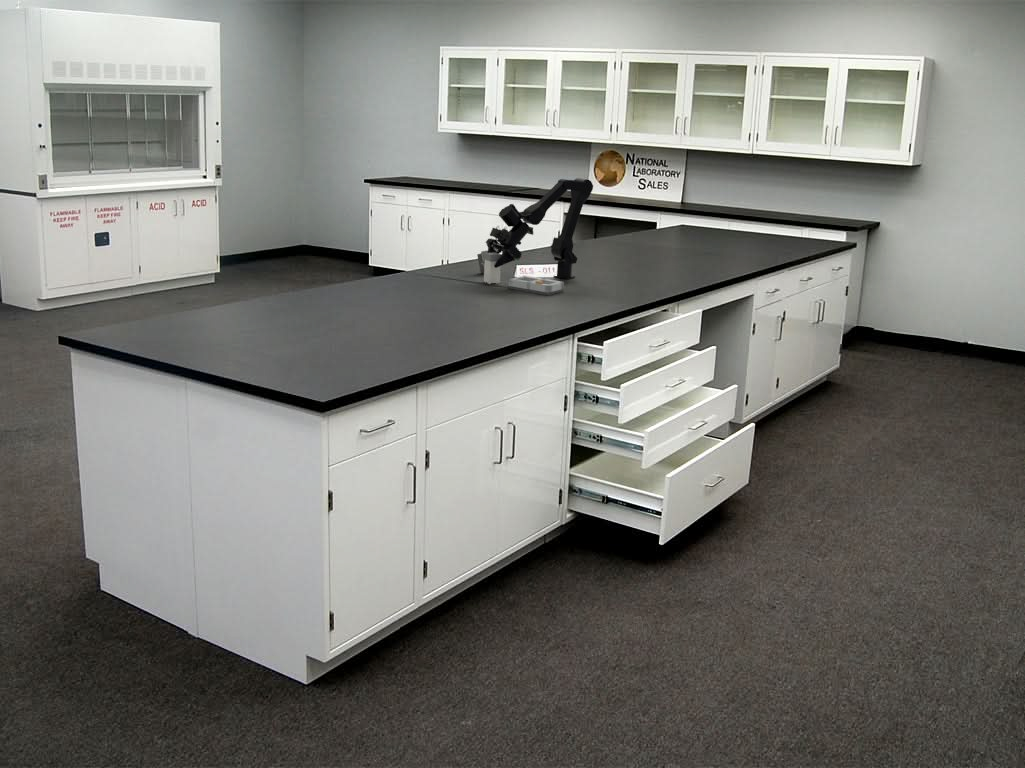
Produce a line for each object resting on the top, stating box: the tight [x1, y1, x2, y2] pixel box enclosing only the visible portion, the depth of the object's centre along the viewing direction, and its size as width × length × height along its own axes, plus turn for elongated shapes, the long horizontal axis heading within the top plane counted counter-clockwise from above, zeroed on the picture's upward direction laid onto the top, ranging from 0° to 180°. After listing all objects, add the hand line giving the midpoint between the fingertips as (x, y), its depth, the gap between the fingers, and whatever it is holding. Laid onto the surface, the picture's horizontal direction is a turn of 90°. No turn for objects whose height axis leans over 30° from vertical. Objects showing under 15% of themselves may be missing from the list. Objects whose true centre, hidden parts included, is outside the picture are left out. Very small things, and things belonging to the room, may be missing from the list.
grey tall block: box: [483, 253, 502, 285], centre depth 383 cm, size 4×4×11 cm
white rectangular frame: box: [508, 275, 565, 296], centre depth 374 cm, size 10×18×4 cm, turn 56°
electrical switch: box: [477, 249, 502, 274], centre depth 404 cm, size 9×5×9 cm, turn 141°
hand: (489, 265), depth 382 cm, fingers open, 8 cm apart
